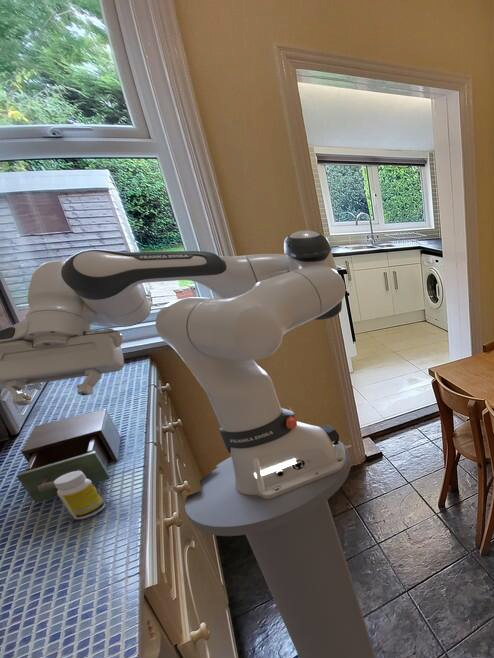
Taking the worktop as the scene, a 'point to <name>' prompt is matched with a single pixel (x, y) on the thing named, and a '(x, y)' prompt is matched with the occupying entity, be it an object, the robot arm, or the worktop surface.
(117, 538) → the worktop surface
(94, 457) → the drawer
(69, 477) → the supplement bottle
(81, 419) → the cabinet
